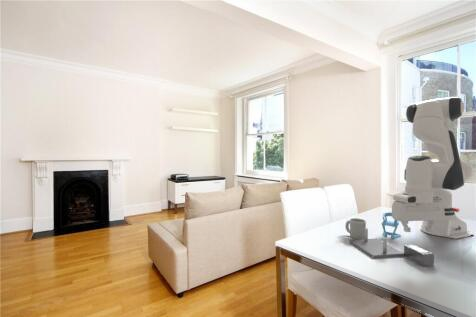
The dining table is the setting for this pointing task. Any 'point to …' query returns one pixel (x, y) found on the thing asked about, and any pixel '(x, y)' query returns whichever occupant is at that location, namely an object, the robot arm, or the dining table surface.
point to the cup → (356, 228)
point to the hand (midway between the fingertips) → (418, 231)
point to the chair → (389, 223)
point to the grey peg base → (376, 247)
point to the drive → (419, 255)
